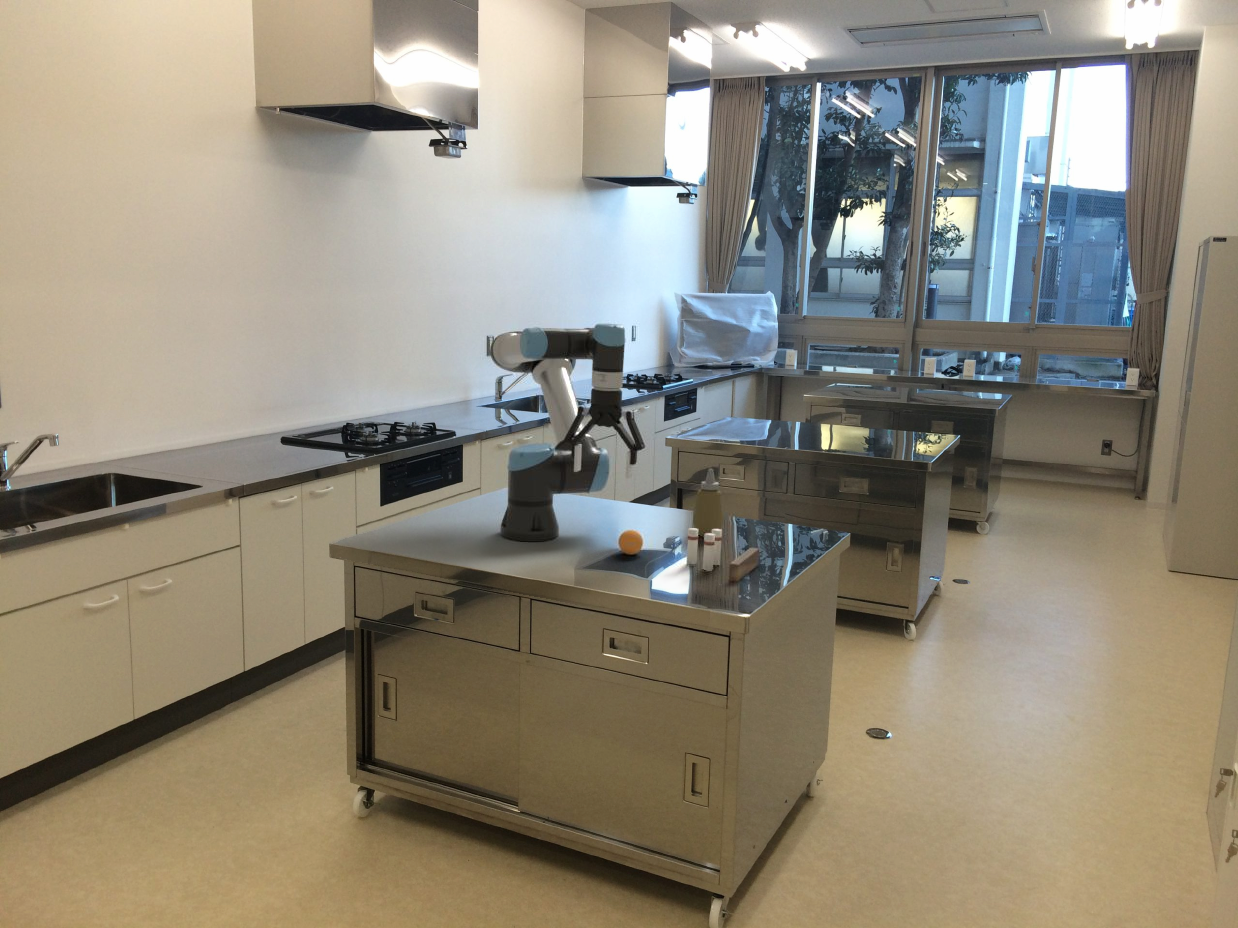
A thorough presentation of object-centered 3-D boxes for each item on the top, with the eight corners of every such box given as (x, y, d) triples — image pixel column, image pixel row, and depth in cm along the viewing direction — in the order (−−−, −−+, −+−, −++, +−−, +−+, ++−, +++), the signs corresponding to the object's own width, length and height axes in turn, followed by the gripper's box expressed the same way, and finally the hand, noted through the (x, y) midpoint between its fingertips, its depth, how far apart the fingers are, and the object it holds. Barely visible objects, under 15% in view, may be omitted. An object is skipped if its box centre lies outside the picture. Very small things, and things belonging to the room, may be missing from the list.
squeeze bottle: (720, 540, 256) (724, 473, 252) (690, 537, 257) (693, 470, 254) (723, 533, 263) (727, 467, 260) (694, 530, 265) (697, 465, 262)
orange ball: (613, 555, 238) (614, 531, 237) (624, 549, 243) (625, 526, 242) (636, 558, 235) (637, 534, 234) (646, 553, 241) (647, 529, 240)
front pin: (684, 564, 232) (686, 529, 231) (688, 561, 234) (690, 527, 233) (694, 566, 231) (696, 531, 230) (698, 563, 233) (700, 529, 232)
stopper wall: (728, 580, 221) (729, 563, 220) (749, 563, 235) (750, 547, 234) (737, 581, 220) (738, 564, 219) (757, 564, 234) (758, 548, 234)
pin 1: (700, 570, 228) (702, 534, 226) (704, 567, 230) (706, 532, 229) (711, 571, 227) (713, 536, 225) (714, 569, 229) (716, 534, 228)
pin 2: (708, 565, 232) (710, 530, 231) (711, 562, 235) (713, 528, 233) (718, 566, 231) (720, 531, 230) (721, 564, 234) (723, 529, 232)
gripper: (553, 385, 237) (550, 470, 241) (651, 394, 229) (646, 483, 233) (565, 382, 244) (562, 465, 248) (660, 391, 236) (655, 477, 240)
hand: (602, 474), depth 241 cm, fingers open, 13 cm apart
